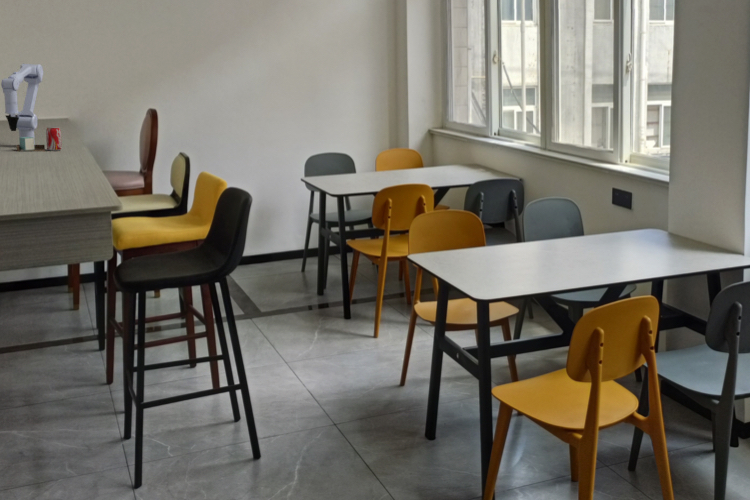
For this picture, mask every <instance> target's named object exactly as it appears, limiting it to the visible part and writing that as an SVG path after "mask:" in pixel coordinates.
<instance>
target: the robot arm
mask: <svg viewBox="0 0 750 500" xmlns="http://www.w3.org/2000/svg"><path fill="white" fill-rule="evenodd" d="M19 67H20V68H19V70H18V71H13V72H12V74H10V75H9V76H8V77H6V78H3V79H2V80H1V83H0V84H1V88H2V93H3V95H4V106H5V107H4V108H5V112H4V113H5V114H7V115H5V116H4V117H5V118H6V120H7V123H8V127H9V129H10V131H11V132H16V131H17V130H18V136H19V137H33V138H34V145H37V144H36V142H35V139H36V138H35V130H36V129H37V127H38V116H37V114H35V113H34V111H35V106H36V100H37V96H38V90H39V88H40V83H42V81H43V79H44V78H43V77H44V68H43V66H42V64H40V63H38V64H37V63H35V64H34V63H33V64H32V63H22V64H21V65H20V66H19ZM24 81H25V82H26V83H27V87H26V88H27V89H26V92H25V93H26V94H25V98H24V101H23V105H22V106H23V107H22V110H20V111H19V106H18V91H19V88H20V85H21V83H23V82H24ZM18 145H20V143H19V144H18Z"/></svg>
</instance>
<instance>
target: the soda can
mask: <svg viewBox="0 0 750 500" xmlns="http://www.w3.org/2000/svg"><path fill="white" fill-rule="evenodd" d="M45 137H46V138H45V139H46V147H47V150H48V151H50V152H59V151H61V150H62V148H63V147H62V132H61V128H60V126H55V125H54V126H47V127H46V129H45Z"/></svg>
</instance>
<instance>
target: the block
mask: <svg viewBox="0 0 750 500" xmlns="http://www.w3.org/2000/svg"><path fill="white" fill-rule="evenodd" d="M34 138H35V137H34ZM34 138H33V137H19V138H18V139H19V144H20V149H22V150H35V145H34Z"/></svg>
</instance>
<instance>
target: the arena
mask: <svg viewBox="0 0 750 500" xmlns="http://www.w3.org/2000/svg"><path fill="white" fill-rule="evenodd" d="M45 146H46V145H45V144H36V145H35V150H22V149H20V145H19V144H16V146H15V147H16V152H45V151H46V148H45Z"/></svg>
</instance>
